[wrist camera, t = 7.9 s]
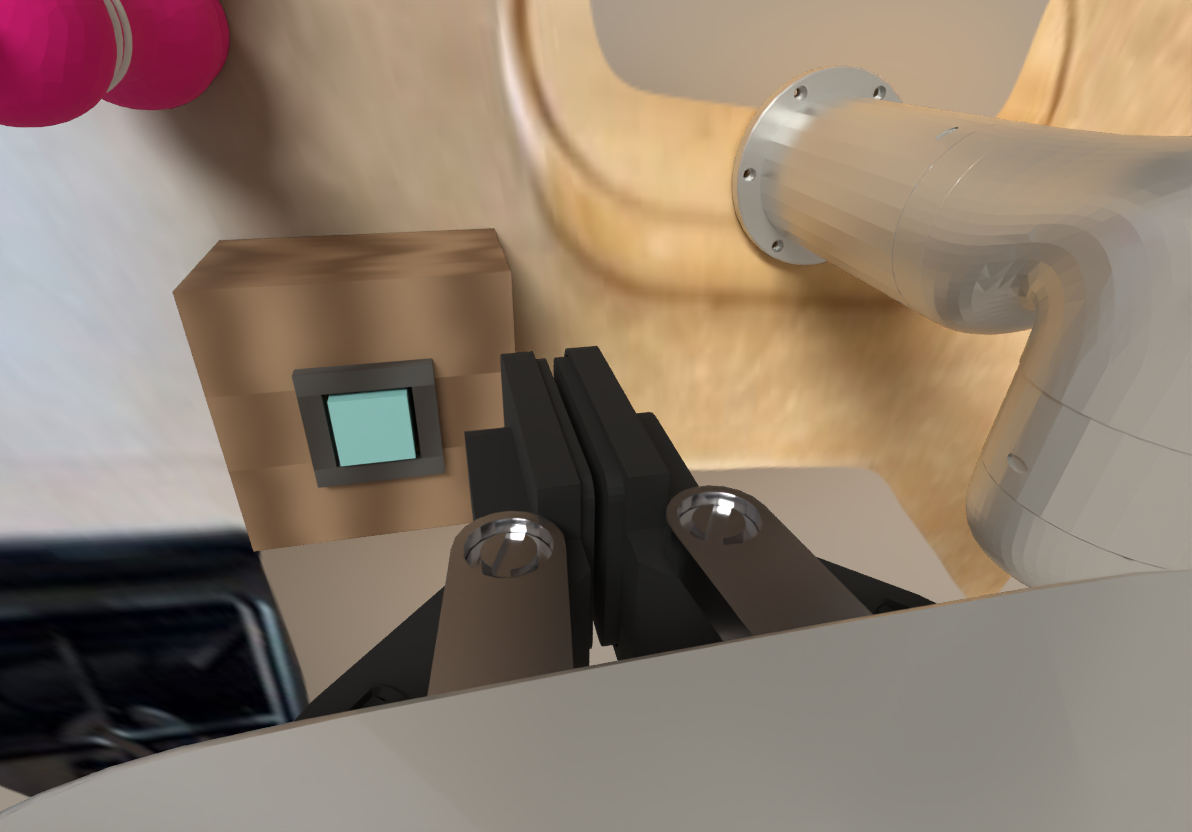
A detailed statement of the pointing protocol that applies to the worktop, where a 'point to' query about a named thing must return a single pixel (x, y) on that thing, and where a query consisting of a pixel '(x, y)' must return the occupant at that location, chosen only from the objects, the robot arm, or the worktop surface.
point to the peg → (374, 425)
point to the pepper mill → (105, 55)
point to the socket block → (348, 372)
